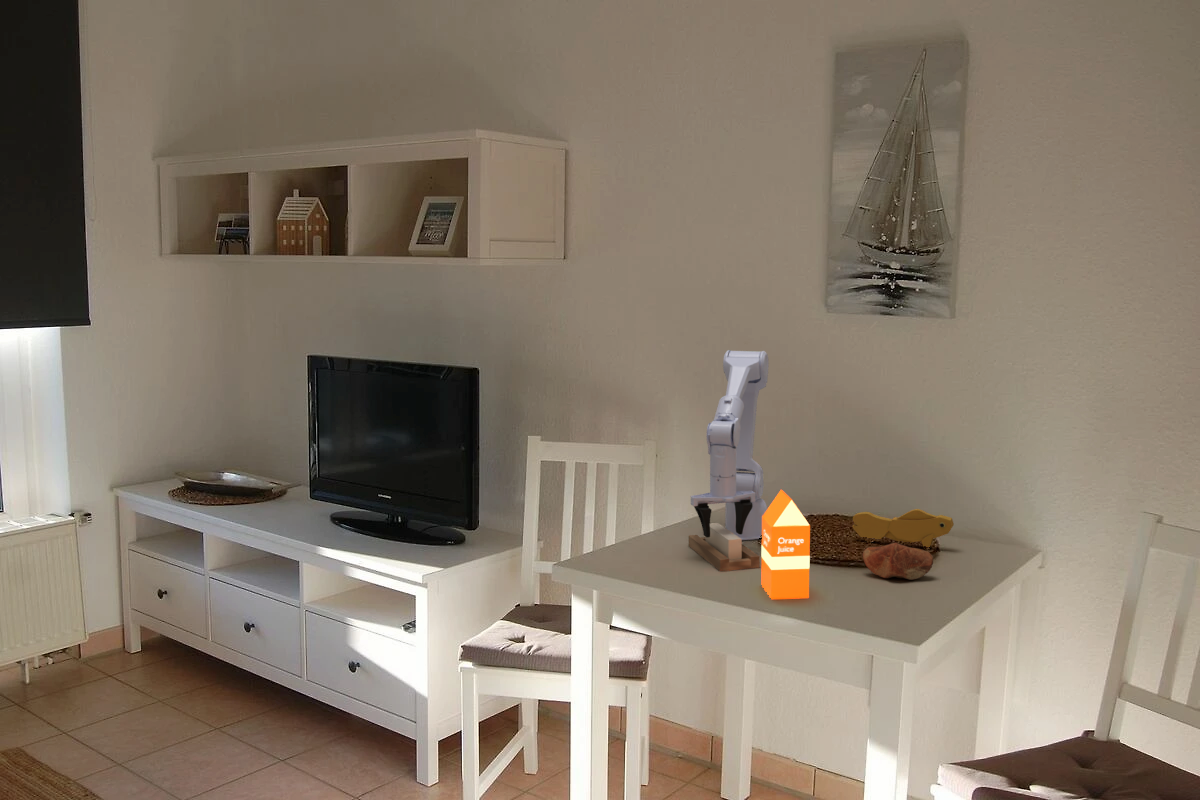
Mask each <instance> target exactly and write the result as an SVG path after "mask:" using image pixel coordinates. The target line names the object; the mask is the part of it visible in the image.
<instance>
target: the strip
mask: <svg viewBox="0 0 1200 800" xmlns="http://www.w3.org/2000/svg"><path fill="white" fill-rule="evenodd" d="M704 537H705V536H704ZM705 541H706V542H707V543H708V544H710V545H711V546H712V547H714V548H715V549H716V550H718V551H719V552H720V553H722V554H723V555H724V556H726V557H727V558H728V559H729V560H736V559H742V544H743V543H742V542H743V540H742V539H741V538H740V537H738V536H737V535H735V534H734V533H732V532H731V531H729V530H728V529H726V528H725V527H724V525H722V524H720V523H719V522H715V523H713V522H712V523H711V522H710V537H705Z"/></svg>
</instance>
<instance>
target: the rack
mask: <svg viewBox="0 0 1200 800" xmlns="http://www.w3.org/2000/svg"><path fill="white" fill-rule="evenodd" d="M688 547H689V548H690V549H692V550H693V551H694V552H695V553H696V554H698V555H699V556H700V557H702V558H703V560H705V561H707V562H708V563H709V564H710V565H712V566H713V567H714V568H715V569H716V570H718V571H719V572H727V571H729V572H730V571H738V570H749V569H759V568H761V567H760V565H761V563H760V561H761V556H760V555H759V554H757V553H756V552H754V551H753V550H751V549H750V548H749V547H747V546H746V545H744V544H743V543H742V559H736V560H729V559H728V558H727V557H726V556H724V555H723V554H722V553H720V552H719V551H718V550H716V549H715V548H714V547H712V546H711V545H710V544H708V543H707V542H706V541H705V536H699V535H698V534H690V535H688Z"/></svg>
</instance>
